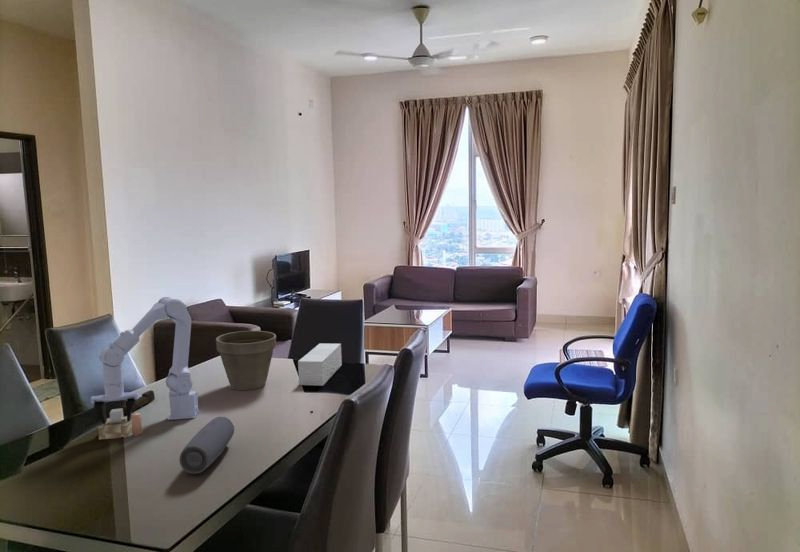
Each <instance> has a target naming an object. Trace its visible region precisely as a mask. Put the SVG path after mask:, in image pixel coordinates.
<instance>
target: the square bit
mask: <svg viewBox="0 0 800 552" xmlns="http://www.w3.org/2000/svg"><path fill="white" fill-rule="evenodd" d="M124 417H125V416H123V408H120V409H118V408H113V409H111V410H110V412H109V418H110V423H111V425H116V424H123V423H124Z"/></svg>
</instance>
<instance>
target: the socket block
mask: <svg viewBox="0 0 800 552" xmlns="http://www.w3.org/2000/svg"><path fill="white" fill-rule="evenodd" d="M106 418H107V421H106V423H105V424H103V422H102V423H101V424H100V425H99V426H98V428H97V430H98V440H109V439H110V440H111V439H120V438H121V437H124V438H128V437H130V435H131V434H132V433H131V432H132V422H131V420H130V421H127V416H124V423H123V424H116V425H111V423H110V417H106ZM130 433H131V434H130Z"/></svg>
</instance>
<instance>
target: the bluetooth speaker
mask: <svg viewBox="0 0 800 552" xmlns="http://www.w3.org/2000/svg"><path fill="white" fill-rule="evenodd" d="M234 433H235V426H234V423H233V422H232V421H231V420H230V419H229V418H228V417H225V416H217V417H214V418H213V419H211V420H210V421H208V423H207V424H205V425H204V426H203V427H202V428H201V429H200V430H199V431H197V433H196V434H195V435H194V436H193V437H192V438H191V439H190V440H189V441H188V443H187V444H186V445H185V446H184V448H183V450H182V451H181V452H180V455H179V460H178V461H179V464H180V467H181V468H182V470H183V471H185V472H186V473H187V474H194V475H195V474H200V473H202V472H204V471H205V470H207V469H208V468H209V467H210V466H211V465H212V464H213V463H214V462H215V461H216V460H217V459H218V458H219V456H220V455H221V454H222V453H223V452H224V450H225V448H226V446H228V444H229V443H230V441H231V440H232V438H233V436H234Z"/></svg>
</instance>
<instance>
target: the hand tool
mask: <svg viewBox="0 0 800 552" xmlns="http://www.w3.org/2000/svg"><path fill="white" fill-rule="evenodd" d="M155 396H156V395H155V392H154V391H153V390H148V391H144V392H143V393H141V396H139V398H138V399H136V400H135V403H134V406H133V409H132V412H134V411H135V410H138V409H139V408H141V407H143V406H144V405H150V404H151V403H153V402H154V401H155V399H156V397H155ZM149 403H150V404H149ZM120 408H123V416H124V417H127V410H126V405H125V404H123V405H122V406H119V407H118V408H117V409H120Z"/></svg>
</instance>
